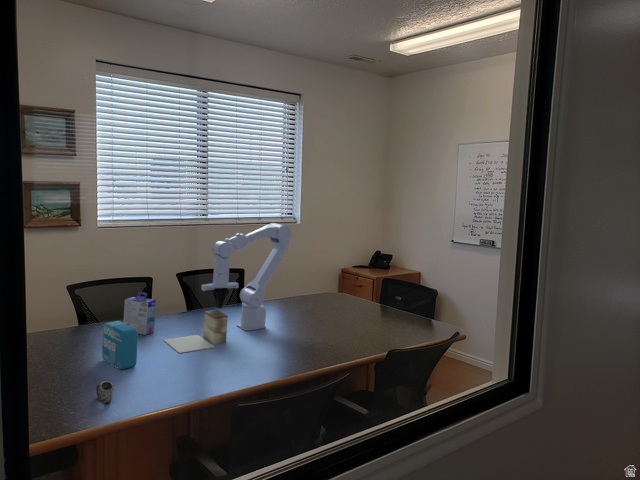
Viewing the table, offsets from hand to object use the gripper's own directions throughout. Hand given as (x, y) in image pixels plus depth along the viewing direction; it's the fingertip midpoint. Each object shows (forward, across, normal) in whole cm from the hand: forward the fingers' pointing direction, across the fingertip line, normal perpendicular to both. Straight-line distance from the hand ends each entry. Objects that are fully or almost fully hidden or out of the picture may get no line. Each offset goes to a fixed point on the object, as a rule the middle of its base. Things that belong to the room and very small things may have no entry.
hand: (219, 307), depth 180 cm
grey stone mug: (+10, +50, +39) cm, 64 cm away
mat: (+9, +15, +9) cm, 20 cm away
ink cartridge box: (+10, +26, -11) cm, 30 cm away
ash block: (+9, +6, +9) cm, 14 cm away
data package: (+10, +41, +16) cm, 45 cm away
